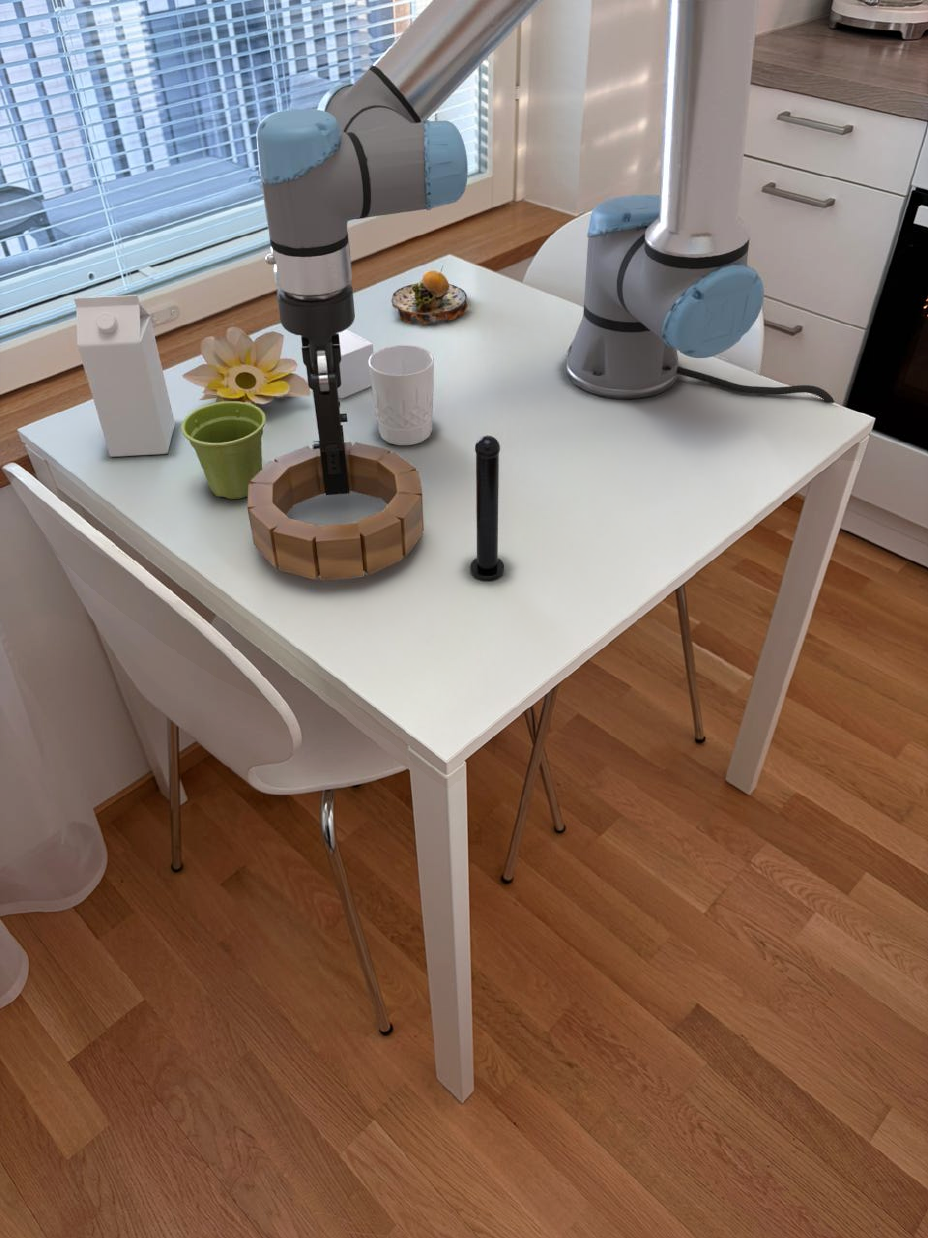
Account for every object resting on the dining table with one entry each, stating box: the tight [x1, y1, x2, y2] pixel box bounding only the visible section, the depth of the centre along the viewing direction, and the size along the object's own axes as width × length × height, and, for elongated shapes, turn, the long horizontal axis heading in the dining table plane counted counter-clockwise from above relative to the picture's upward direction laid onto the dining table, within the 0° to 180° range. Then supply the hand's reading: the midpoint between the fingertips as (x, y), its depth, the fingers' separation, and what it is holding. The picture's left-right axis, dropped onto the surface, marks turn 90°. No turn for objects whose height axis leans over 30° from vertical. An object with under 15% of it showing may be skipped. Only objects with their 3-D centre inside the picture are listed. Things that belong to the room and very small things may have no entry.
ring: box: [246, 441, 425, 581], centre depth 107 cm, size 18×18×5 cm
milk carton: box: [73, 294, 176, 457], centre depth 119 cm, size 7×7×19 cm
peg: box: [469, 435, 505, 582], centre depth 100 cm, size 4×4×16 cm
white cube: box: [338, 328, 375, 400], centre depth 134 cm, size 6×6×6 cm
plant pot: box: [180, 401, 267, 500], centre depth 115 cm, size 9×9×9 cm
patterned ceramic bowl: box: [390, 266, 468, 325], centre depth 151 cm, size 12×12×8 cm
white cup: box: [369, 344, 435, 446], centre depth 123 cm, size 8×8×10 cm
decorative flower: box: [181, 325, 312, 406], centre depth 128 cm, size 15×11×10 cm
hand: (336, 483), depth 114 cm, fingers closed on ring, 3 cm apart
